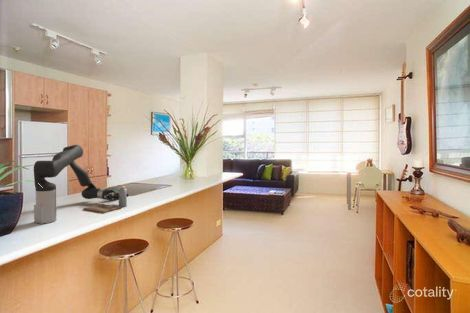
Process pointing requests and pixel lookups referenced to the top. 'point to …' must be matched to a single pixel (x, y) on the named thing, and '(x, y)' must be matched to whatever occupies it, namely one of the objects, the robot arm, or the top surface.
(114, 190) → the food container
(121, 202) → the slate bottle
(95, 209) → the walnut board
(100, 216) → the top surface
